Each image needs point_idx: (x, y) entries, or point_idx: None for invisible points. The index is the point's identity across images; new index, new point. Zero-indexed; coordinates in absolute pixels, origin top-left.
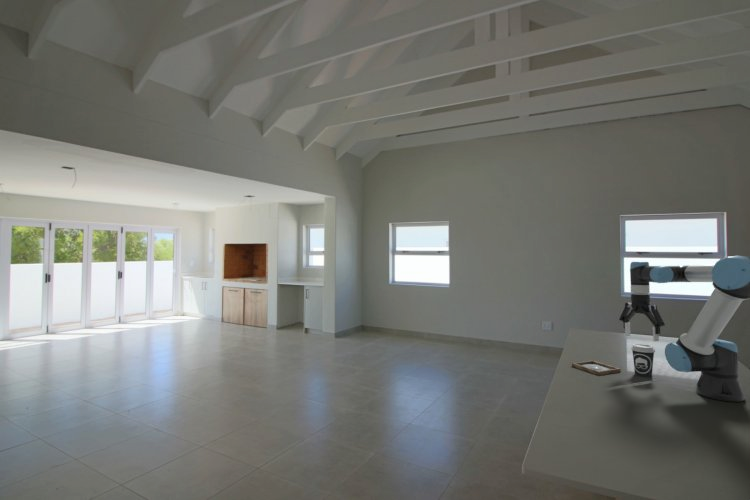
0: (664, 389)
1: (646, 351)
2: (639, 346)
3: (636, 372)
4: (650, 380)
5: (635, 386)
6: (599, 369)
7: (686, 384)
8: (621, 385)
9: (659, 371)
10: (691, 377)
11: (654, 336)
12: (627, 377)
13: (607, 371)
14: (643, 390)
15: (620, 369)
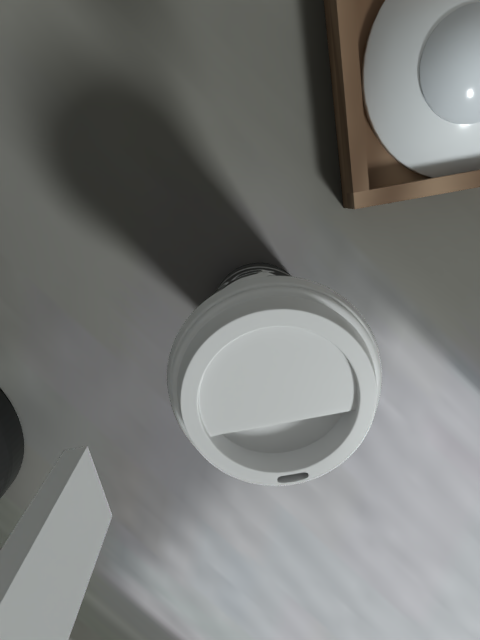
0: (33, 239)
1: (178, 341)
2: (281, 359)
3: (266, 266)
4: (196, 298)
5: (102, 97)
6: (422, 57)
7: (103, 427)
8: (133, 7)
9: (329, 478)
10: (202, 539)
11: (36, 501)
12: (278, 203)
13: (339, 58)
14: (22, 83)
15: (353, 208)
